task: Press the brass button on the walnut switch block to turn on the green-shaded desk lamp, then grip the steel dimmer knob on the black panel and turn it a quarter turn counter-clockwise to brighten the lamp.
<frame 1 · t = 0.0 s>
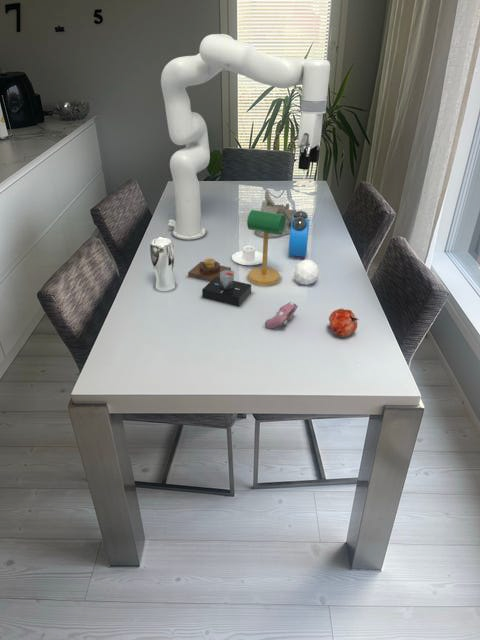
hand: (308, 165, 146), 31 cm above the table, tool pointing down, fingers open, 9 cm apart
dimmer panel: (227, 295, 138), on the table
switch block: (209, 274, 150), on the table
candle holder: (249, 259, 160), on the table
geometric ball: (305, 283, 146), on the table
ceramic cottage: (275, 230, 182), on the table
desk lamp: (263, 278, 148), on the table
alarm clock: (297, 255, 163), on the table
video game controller: (281, 323, 126), on the table
beer glass: (165, 287, 143), on the table
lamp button: (209, 263, 148), point 4 cm above the table, slide at 0.2 cm
pomegranate: (340, 333, 122), on the table
dimmer knob: (226, 279, 135), point 5 cm above the table, hinge at 0.0°
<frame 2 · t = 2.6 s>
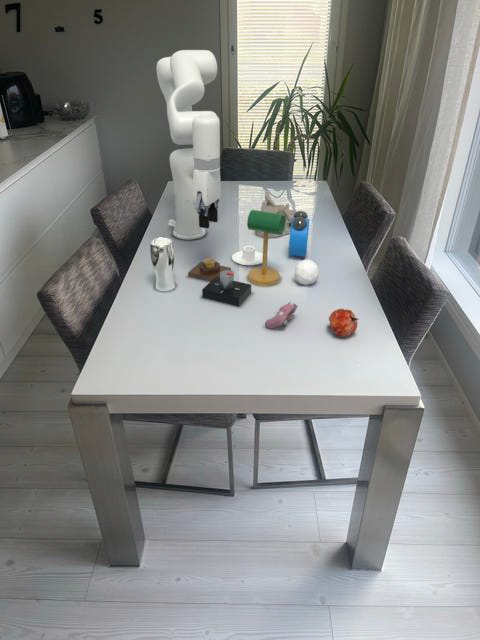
hand: (208, 223, 140), 17 cm above the table, tool pointing down, fingers open, 4 cm apart
nothing on the table moved.
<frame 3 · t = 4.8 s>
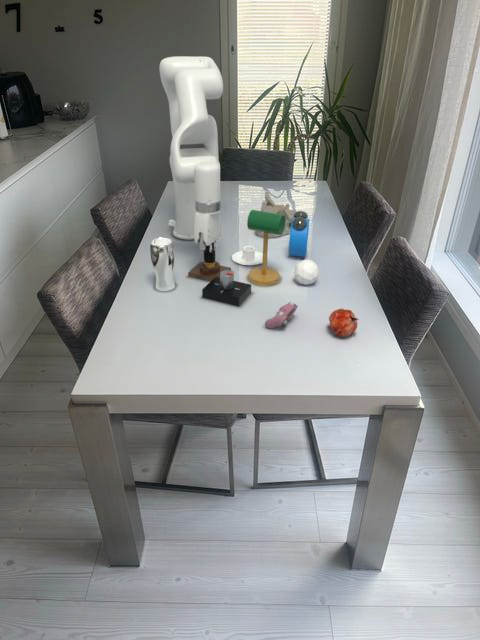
hand: (209, 261, 147), 5 cm above the table, tool pointing down, fingers closed
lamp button: (209, 263, 148), point 4 cm above the table, slide at 0.0 cm, touching gripper
everything else where it was.
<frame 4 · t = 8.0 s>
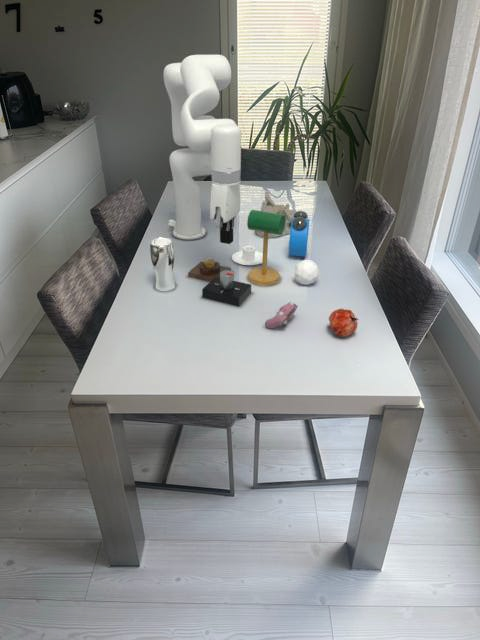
hand: (226, 241, 129), 17 cm above the table, tool pointing down, fingers closed
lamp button: (209, 263, 148), point 4 cm above the table, slide at 0.1 cm
everything else where it was.
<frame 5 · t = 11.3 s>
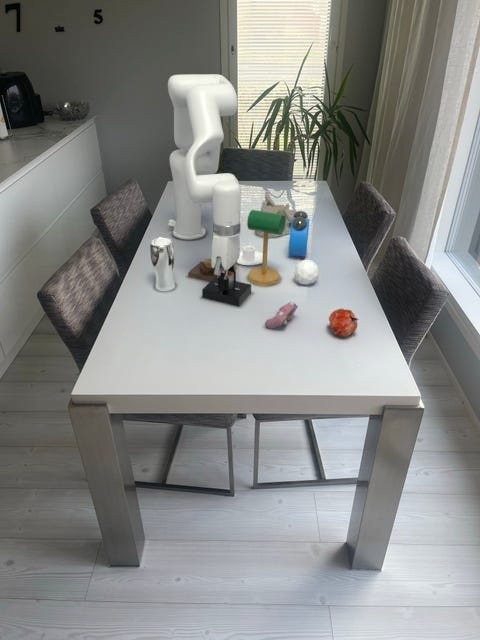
hand: (227, 285, 136), 4 cm above the table, tool pointing down, fingers closed on dimmer knob, 4 cm apart
dimmer knob: (226, 279, 135), point 5 cm above the table, hinge at -0.2°, touching gripper
everything else where it was.
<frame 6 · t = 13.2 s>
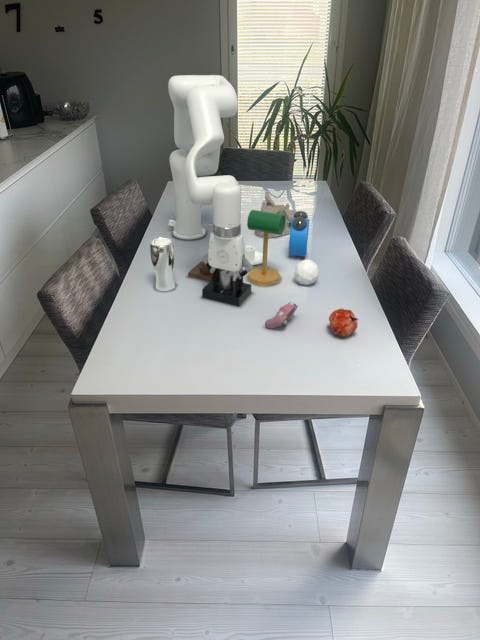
hand: (227, 285, 136), 3 cm above the table, tool pointing down, fingers open, 6 cm apart
dimmer knob: (226, 279, 135), point 5 cm above the table, hinge at 92.6°
everything else where it was.
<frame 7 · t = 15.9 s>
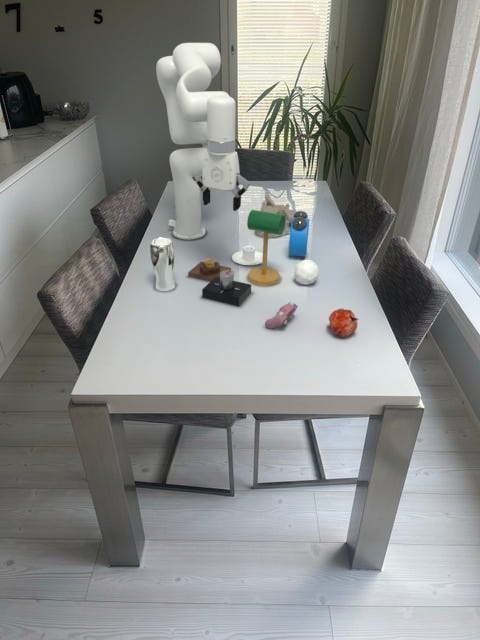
hand: (221, 206, 135), 24 cm above the table, tool pointing down, fingers open, 9 cm apart
nothing on the table moved.
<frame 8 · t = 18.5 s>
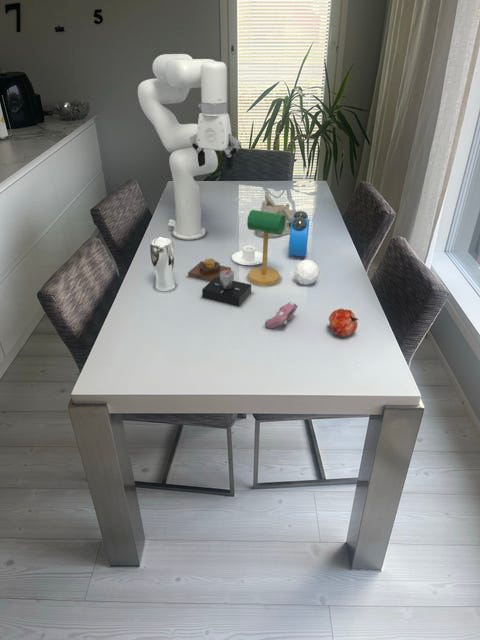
hand: (215, 167, 146), 30 cm above the table, tool pointing down, fingers open, 9 cm apart
nothing on the table moved.
at the end: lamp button pushed in 1.1 cm at the most during the clip, back to where it started at the end; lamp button slide at 0.1 cm; dimmer knob at +93° (first picture: +0°) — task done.
